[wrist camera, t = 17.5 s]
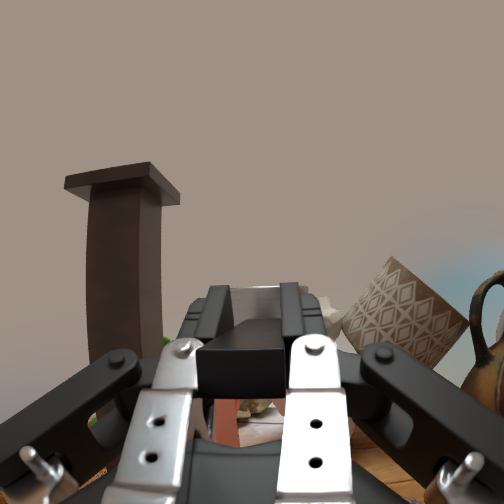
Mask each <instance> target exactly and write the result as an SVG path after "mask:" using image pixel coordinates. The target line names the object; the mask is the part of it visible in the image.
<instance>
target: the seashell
mask: <svg viewBox="0 0 504 504" xmlns="http://www.w3.org/2000/svg"><path fill="white" fill-rule="evenodd" d="M402 497H403V496H402ZM403 498H404V499H405V500H407V501H408V502H410V503H411V504H422V503H421V502H420V503H419V502H417V501H416V500H415V499H414V498H412V501H410V500H409V499H407V498H405V497H403Z"/></svg>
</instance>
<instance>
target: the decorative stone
mask: <svg viewBox="0 0 504 504" xmlns="http://www.w3.org/2000/svg"><path fill="white" fill-rule="evenodd" d="M317 299H318V300H319V303H320V307H321V311H322V316H323V319H324V323H325V327H326V332H327V336H328V337H329V338H331V339H332V340H333V341H335V340H336V338H337V337H338V336H339V334H340V331H341V328H342V313H341V311H340V310H339V311H337V310H335V309H333V308H331V300H330V298H329V297H328V296H327V297H321V298H317Z"/></svg>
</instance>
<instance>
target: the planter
mask: <svg viewBox="0 0 504 504" xmlns="http://www.w3.org/2000/svg"><path fill="white" fill-rule="evenodd" d="M469 323H470V322H469V321H468V320H467V319H466V318H465V317H464V316H463V315H461V313H459V312H458V311H457V310H456V309H455V308H454V307H453V306H452V305H450V304H449V303H448V302H447V301H446V300H445V299H444V298H443V297H441V296H440V295H439V294H438V293H437V292H436V291H435V290H433V289H432V288H431V287H430V286H429V285H428V284H426V283H425V282H424V281H423V280H422V279H420V278H419V277H418V276H417V275H416V274H414V273H413V272H412V271H411V270H410V269H408V268H407V267H406V266H405V265H403V264H402V263H401V262H400V261H398V260H397V259H396V258H395V257H393V256H391V257H390V258H389V260H388V261H387V262H386V264H385V265H384V267H383V268H382V269H381V270H380V272H379V273H378V274H377V276H376V277H375V278H374V280H373V281H372V282H371V284H370V285H369V286H368V288H367V289H366V290H365V291H364V292H363V294H362V295H361V296H360V297H359V299H358V300H357V301H356V302H355V304H354V305H353V306H352V307H351V309H350V310H349V311H348V312H347V314H346V315H345V316H344V317H343V318H342V330H343V332H344V334H345V336H346V338H347V339H348V340H349V342H350V343H351V344H352V346H353V347H354V348H355V350H356V352H357V353H358V354H361V355H362V351H363V349H364V348H365V347H366V346H368V345H370V344H372V343H377V342H387V343H391V344H394V345H397V346H398V347H400V348H401V349H403V350H404V351H406V352H407V353H409V354H410V355H412V356H413V357H415V358H416V359H417V360H419V361H420V362H422V363H423V364H425V365H426V366H428V367H429V368H431V369H433V368H434V367H435V366H436V365H437V364H438V363H439V362H440V360H441V359H442V358H443V357H444V356H445V355H446V353H447V352H448V351H449V350H450V349H451V348H452V346H453V345H454V344H455V343H456V341H457V340H458V339H459V338H460V337H461V335H462V334H463V333H464V332H465V330H466V329H467V328H468V326H469Z"/></svg>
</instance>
